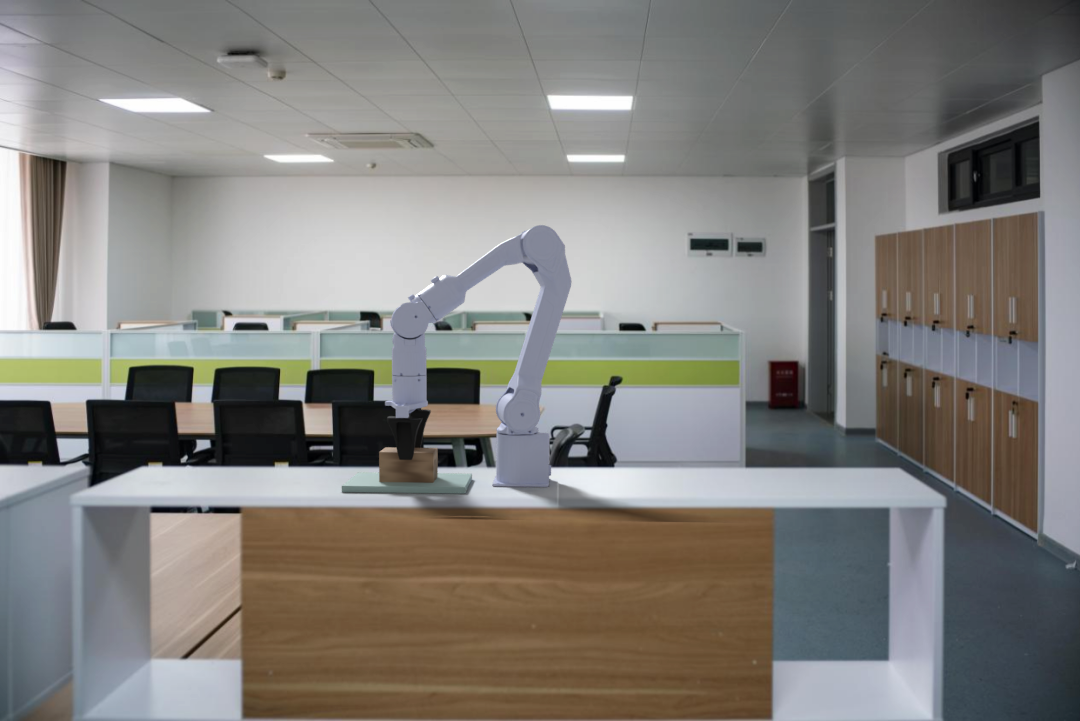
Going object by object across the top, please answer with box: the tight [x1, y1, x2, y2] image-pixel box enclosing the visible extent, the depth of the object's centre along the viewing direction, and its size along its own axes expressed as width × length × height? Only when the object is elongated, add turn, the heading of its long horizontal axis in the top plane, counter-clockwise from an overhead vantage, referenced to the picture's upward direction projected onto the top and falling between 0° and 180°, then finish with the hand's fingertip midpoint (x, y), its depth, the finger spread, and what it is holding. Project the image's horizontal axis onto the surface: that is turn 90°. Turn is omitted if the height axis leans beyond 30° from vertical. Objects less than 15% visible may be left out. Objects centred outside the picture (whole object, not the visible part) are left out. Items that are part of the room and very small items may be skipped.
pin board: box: [341, 471, 473, 494], centre depth 150 cm, size 20×12×4 cm, turn 89°
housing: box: [378, 446, 439, 483], centre depth 150 cm, size 9×5×5 cm, turn 88°
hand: (409, 455), depth 149 cm, fingers open, 7 cm apart
